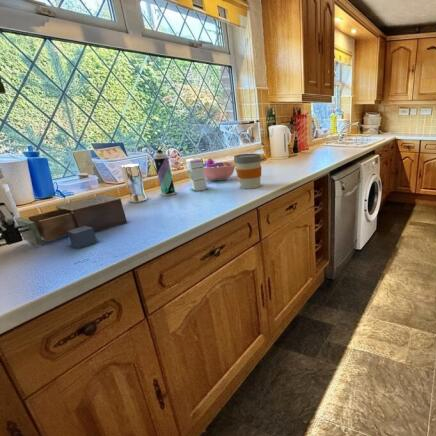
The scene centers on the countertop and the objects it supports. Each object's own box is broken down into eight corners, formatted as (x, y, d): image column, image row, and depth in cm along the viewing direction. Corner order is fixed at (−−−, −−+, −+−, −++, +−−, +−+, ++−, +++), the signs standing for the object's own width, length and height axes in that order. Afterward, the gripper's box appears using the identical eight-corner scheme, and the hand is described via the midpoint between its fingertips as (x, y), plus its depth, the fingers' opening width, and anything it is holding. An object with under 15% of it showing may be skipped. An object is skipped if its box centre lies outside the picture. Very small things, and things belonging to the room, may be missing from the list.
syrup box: (207, 188, 145) (202, 158, 140) (195, 191, 141) (189, 160, 136) (203, 187, 149) (197, 157, 144) (191, 189, 145) (185, 159, 140)
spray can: (160, 194, 138) (150, 149, 131) (173, 191, 142) (163, 148, 135) (164, 196, 134) (154, 150, 128) (177, 193, 138) (167, 149, 131)
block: (79, 248, 84) (74, 233, 83) (71, 245, 86) (66, 231, 85) (97, 242, 88) (92, 228, 86) (89, 239, 90) (85, 225, 88)
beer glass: (125, 202, 127) (115, 166, 122) (138, 197, 134) (130, 163, 129) (139, 202, 126) (129, 167, 121) (151, 198, 132) (143, 164, 127)
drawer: (10, 254, 79) (0, 231, 77) (-3, 247, 84) (-14, 224, 82) (89, 230, 94) (82, 210, 92) (73, 225, 99) (66, 206, 97)
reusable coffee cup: (255, 190, 139) (251, 157, 134) (232, 189, 143) (227, 157, 138) (268, 184, 151) (265, 153, 145) (246, 182, 154) (243, 153, 149)
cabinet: (81, 236, 92) (72, 210, 89) (64, 230, 98) (55, 205, 95) (127, 222, 103) (120, 198, 100) (109, 217, 109) (102, 194, 106)
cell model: (226, 184, 153) (223, 161, 149) (192, 183, 157) (188, 161, 154) (243, 177, 168) (240, 156, 164) (211, 176, 173) (208, 156, 169)
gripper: (-50, 176, 78) (-20, 240, 84) (-29, 181, 69) (3, 252, 76) (-9, 170, 84) (16, 230, 90) (15, 175, 76) (41, 240, 82)
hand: (10, 239), depth 83 cm, fingers closed on drawer, 6 cm apart
